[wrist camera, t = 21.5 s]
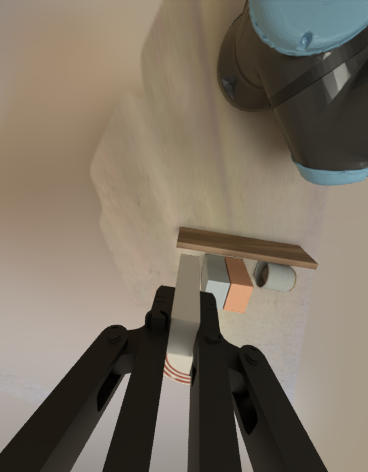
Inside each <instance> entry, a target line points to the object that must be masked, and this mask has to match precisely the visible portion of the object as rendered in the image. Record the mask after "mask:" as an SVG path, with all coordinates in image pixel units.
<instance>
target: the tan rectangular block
mask: <svg viewBox="0 0 368 472" xmlns="http://www.w3.org/2000/svg"><path fill="white" fill-rule="evenodd" d="M224 260H225V264H226V269H227V273H228V277H229V281H230V286H229V289H228V292H227V295H226V299H225V302H224V305H223V310H227V311H233V312H240V313H244V312H245V309H246V306H247V304H248V301H249V298H250V295H251V293H252V290H253V284H252V282H251V279H250V277H249V274H248V272H247V269H246V267H245V264H244V262H243V259H238V258H231V257H225V258H224Z"/></svg>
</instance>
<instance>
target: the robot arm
mask: <svg viewBox="0 0 368 472" xmlns="http://www.w3.org/2000/svg"><path fill="white" fill-rule="evenodd" d="M217 73H218V81H219V85H220V88H221V90H222V93H223V94H224V96H225V98H226V99H227V100H228V101H229V102H230V103H231V104H232V105H233V106H234V107H236V108H238V109H240V110H243V111H248V112H255V111H260V110H264V109H266V108H268V107H270V106H272V109H273V112H274V114H275V116H276V119H277V121H278V124H279V126H280V128H281V131H282V133H283V135H284V138H285V140H286V143H287V145H288V147H289V150H290V152H291V158H292V161H293V162H294V164H295V165H296V166H297V168H298V170H299V172H300V174H301V176H302V177H303V178H304V179H305V180H307V181H308V182H311V183H313V184H317V185H328V186H331V185H344V184H350V183H355V182H359V181H363V180H365V178H366V177H368V0H246V3H245V6H244V9H243V12H242V14H240V15H239V16H238V17H237V19H236V20H235V21H234V22H233V23H232V25H231V26H230V28H229V30H228V31H227V33H226V35H225V37H224V40H223V42H222V45H221V49H220V53H219V58H218V66H217ZM166 353H169V354H175V355H182V356H188V357H192V354H193V361H192V365H191V369H190V373H189V376H190V377H191V380H190V412H189V440H188V471H187V472H242V469H241V461H240V455H239V447H238V439H237V432H236V424H235V417H234V412H235V415H236V419H237V422H238V425H239V428H240V431H241V434H242V437H243V440H244V443H245V446H246V450H247V452H248V455H249V459H250V462H251V465H252V468H253V471H254V472H328V471H327V469H326V467H325V465H324V464H323V462H322V460H321V458H320V456H319V454H318V453H317V451H316V449H315V447H314V445H313V443H312V442H311V440H310V438H309V436H308V434H307V432H306V431H305V429H304V427H303V425H302V424H301V422H300V420H299V418H298V416H297V414H296V413H295V411H294V409H293V407H292V405H291V403H290V401H289V400H288V398H287V396H286V394H285V392H284V390H283V389H282V387H281V385H280V383H279V381H278V379H277V378H276V376H275V374H274V372H273V370H272V369H271V367H270V365H269V363H268V361H267V359H266V358H265V356H264V355H263V353H262V352H261V351H260V350H259V349H258V348H256V347H254V346H252V345H244V346H242V347H241V348H239V347H237V346H234V345H232V344H231V343H229V342H227V341H226V340H225V339H224V338H223V336H222V334H221V333H220V328H219V320H218V311H217V303H216V298H215V296H214V295H213V293H210V292H203V291H200V273H199V256H192V255H186V254H181V257H180V263H179V270H178V276H177V282H176V288H175V287H169V286H162V285H161V286H160V287H159V288H158V289H157V291H156V295H155V298H154V302H153V305H152V309H151V310H150V311H149V312H148V313H147V314H146V316H145V325H144V326H143V327H141V328H138V329H134V330H127V329H126V328H125V327H123V326H122V325H111V326H109V327H107V328H106V329H104V331H102V332H101V334H100V335H99V336H98V337H97V339H96V340H95V341H94V342H93V343H92V345H91V346H90V347H89V348H88V349H87V350H86V352H85V353H84V354H83V355H82V356H81V358H80V359H79V360H78V361H77V362H76V364H75V365H74V366H73V367H72V368H71V369H70V371H69V372H68V373H67V374H66V376H65V377H64V378H63V379H62V380H61V382H60V383H59V384H58V385H57V386H56V387H55V389H54V390H53V391H52V392H51V393H50V395H49V396H48V397H47V398H46V399H45V400H44V402H43V403H42V404H41V405H40V406H39V408H38V409H37V410H36V411H35V412H34V414H33V415H32V416H31V417H30V418H29V420H28V421H27V422H26V423H25V424H24V426H23V427H22V428H21V429H20V430H19V432H18V433H17V434H16V435H15V436H14V438H13V439H12V440H11V441H10V442H9V444H8V445H7V446H6V447H5V448H4V449H3V451H2V452H1V453H0V472H70V471H71V469H72V467H73V465H74V463H75V462H76V460H77V458H78V456H79V455H80V453H81V451H82V450H83V448H84V446H85V444H86V442H87V441H88V439H89V437H90V435H91V434H92V432H93V430H94V428H95V427H96V425H97V423H98V421H99V419H100V418H101V416H102V414H103V412H104V411H105V409H106V407H107V405H108V404H109V402H110V400H111V398H112V397H113V395H114V393H115V391H116V389H117V388H118V386H119V384H120V382H121V381H122V379H123V377H124V375H125V374H127V373H131V375H130V379H129V382H128V386H127V389H126V392H125V396H124V399H123V403H122V406H121V410H120V413H119V416H118V420H117V423H116V427H115V430H114V433H113V437H112V440H111V444H110V447H109V451H108V454H107V457H106V461H105V464H104V468H103V471H102V472H149V467H150V460H151V453H152V446H153V440H154V433H155V426H156V420H157V413H158V406H159V399H160V393H161V386H162V380H163V373H164V366H165V359H166Z"/></svg>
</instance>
